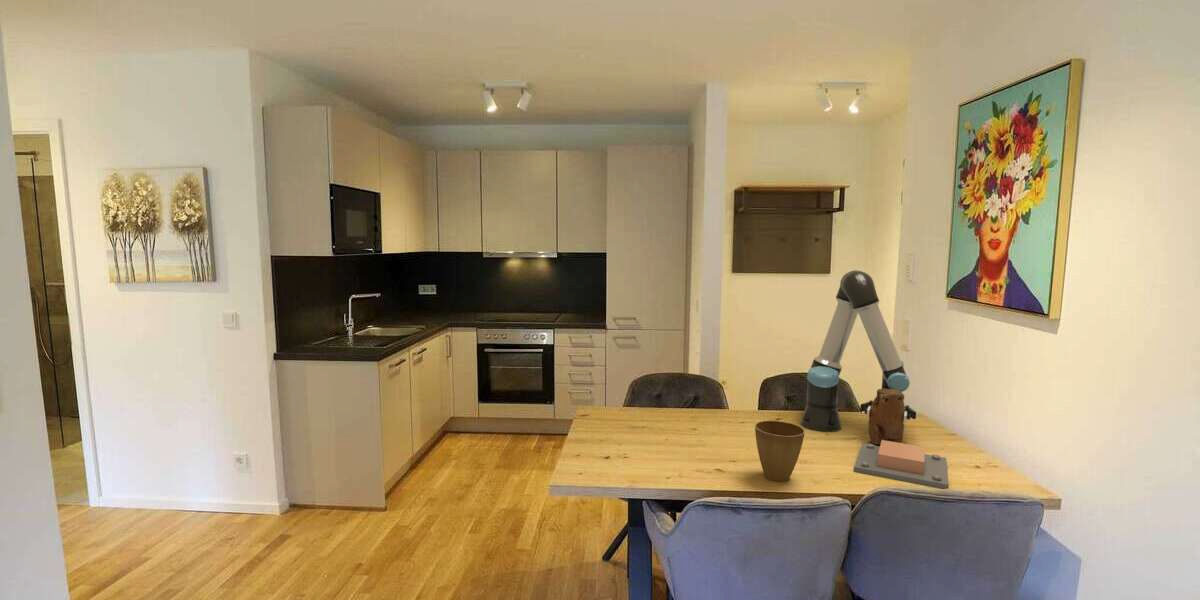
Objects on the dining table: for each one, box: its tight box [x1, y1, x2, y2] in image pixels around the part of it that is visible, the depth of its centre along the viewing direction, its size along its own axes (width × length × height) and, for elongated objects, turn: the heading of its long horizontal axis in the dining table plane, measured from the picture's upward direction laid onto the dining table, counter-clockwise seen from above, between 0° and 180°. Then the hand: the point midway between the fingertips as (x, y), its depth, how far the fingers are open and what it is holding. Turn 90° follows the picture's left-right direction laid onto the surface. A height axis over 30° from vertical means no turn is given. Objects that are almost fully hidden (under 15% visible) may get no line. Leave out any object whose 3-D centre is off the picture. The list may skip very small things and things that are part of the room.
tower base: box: [853, 440, 950, 489], centre depth 184 cm, size 26×26×6 cm
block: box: [868, 388, 905, 445], centre depth 206 cm, size 11×8×20 cm
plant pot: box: [754, 420, 806, 483], centre depth 174 cm, size 15×15×16 cm
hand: (886, 416), depth 202 cm, fingers closed on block, 11 cm apart
